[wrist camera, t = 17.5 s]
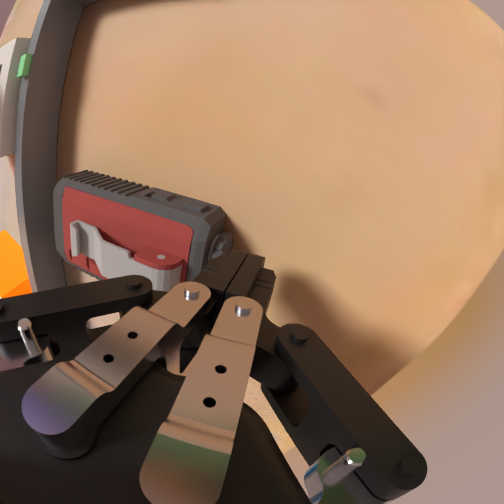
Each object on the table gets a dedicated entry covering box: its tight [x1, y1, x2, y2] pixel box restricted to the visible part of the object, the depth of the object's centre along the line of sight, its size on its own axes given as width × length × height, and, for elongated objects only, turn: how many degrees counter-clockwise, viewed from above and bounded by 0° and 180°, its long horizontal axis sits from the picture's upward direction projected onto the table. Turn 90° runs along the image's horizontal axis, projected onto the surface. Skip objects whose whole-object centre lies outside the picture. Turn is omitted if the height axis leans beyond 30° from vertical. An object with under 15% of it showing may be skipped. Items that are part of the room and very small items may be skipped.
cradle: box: [15, 0, 99, 293], centre depth 15 cm, size 33×11×4 cm, turn 169°
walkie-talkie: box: [53, 170, 233, 292], centre depth 15 cm, size 9×4×20 cm
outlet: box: [0, 38, 31, 157], centre depth 13 cm, size 9×9×4 cm
